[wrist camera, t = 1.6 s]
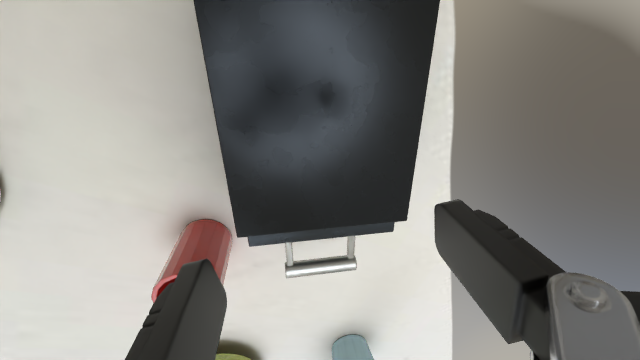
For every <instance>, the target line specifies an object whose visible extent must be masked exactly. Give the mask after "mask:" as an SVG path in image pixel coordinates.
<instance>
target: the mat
mask: <svg viewBox="0 0 640 360" xmlns="http://www.w3.org/2000/svg"><path fill="white" fill-rule="evenodd" d="M215 360H252V359H250V358H247V357H245V356H241V355H236V354H223V353H220V354H216V358H215Z"/></svg>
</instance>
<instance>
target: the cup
mask: <svg viewBox="0 0 640 360" xmlns="http://www.w3.org/2000/svg"><path fill="white" fill-rule="evenodd" d="M332 358H333V360H374V359H373V356H372V354H371V352H370V349H369V347H368V345H367V342H366V340H365V339H364V338H363V337H362V336H359V335H347V336H344V337H342V338H340V339H338V340H337V341H336V342H335V343H334V344H333V347H332Z"/></svg>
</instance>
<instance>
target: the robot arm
mask: <svg viewBox="0 0 640 360" xmlns="http://www.w3.org/2000/svg"><path fill="white" fill-rule="evenodd" d="M434 213H435V243H436V247H437V250H438V252H439V254H440V256H441V257H442V258H443V260H444V261H445V262H446V264H447V265H448V266H449V268H450V269H451V270H452V271H453V273H454V274H455V275H456V277H457V278H458V279H459V280H460V282H461V283H462V284H463V286H464V287H465V288H466V290H467V291H468V292H469V293H470V295H471V296H472V298H473V299H474V300H475V301H476V302H477V304H478V305H479V307H480V308H481V309H482V310H483V312H484V313H485V315H486V316H487V317H488V318H489V320H490V321H491V322H492V323H493V325H494V326H495V328H496V329H497V330H498V331H499V333H500V334H501V335H502V337H503V338H504V339H505V341H506V342H507V343H508V344H511V343H515V342H519V341H523V340H524V341H525V343H526V344H527V345H528V346H529V347H530V349H531V352H530V360H640V292H630V291H618V290H617V289H616V288H615V287H613V286H611V285H610V284H608V283H606V282H604V281H602V280H600V279H597V278H595V277H591V276H588V275H584V274H579V273H567V272H565V271H564V270H563V269H561V268H560V267H559V266H558V265H556V264H555V263H553V262H552V261H551V260H550V259H548V258H547V257H546V256H545V255H543V254H542V253H541V252H539V251H538V250H537V249H536V248H535V247H533V246H532V245H531V244H529V243H528V242H527V241H526V240H524V239H523V238H520V237H519V235H518V234H516V233H515V232H514V231H513V230H511V229H508V226H506V225H505V224H504V223H503V222H501V221H500V220H499V219H498V218H496V217H495V216H492V215H490V214H488V213H485V212H483V211H481V210H476V211H473V210H472V209H471V208H470V207H468V206H467V205H466V204H465V203H464V202H463V201H461V200H459V199H457V200H453V201H448V202H444V203H440V204H437V205H436V206H435V210H434ZM226 308H227V298H226V292H225V290H224V287H223V285H222V283H221V281H220V279H219V277H218V275H217V273H216V271H215V269H214V267H213V265H212V263H211V262H210V260H208V259H203V260H199V261H195V262H190V263H186V264H184V265H182V267H181V269H180V271H179V273H178V275H177V277H176V279H175V281H174V282H172V283H169V284H168V285H167V287H166V288H165V289H164V290H163V291H162V292H161V293H160V294H159V296H158V297H157V298H156V300H155V302H154V304H153V306H152V308H151V310H150V312H149V315H148V316H147V318H146V319H145V321H144V323H143V325H142V326H143V328H142V329H140V331H139V333H138V335H137V337H136V339H135V341H134V343H133V345H132V347H131V349H130V351H129V353H128V355H127V357H126V358H125V360H215V358H216V353H217V349H218V344H219V340H220V335H221V331H222V326H223V321H224V317H225V312H226Z"/></svg>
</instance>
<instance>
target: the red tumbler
mask: <svg viewBox="0 0 640 360" xmlns="http://www.w3.org/2000/svg"><path fill="white" fill-rule="evenodd" d="M231 246H232V235H231V233H230V231H229V230H228V229H227V227H225V226H224V225H223V224H221V223H219V222H217V221H214V220H209V219H202V220H197V221H194V222H192V223H190V224H188V225H187V226H186V227H185V228H184V229H183V231H182V233H181V234H180V236H179V238H178V240H177V242H176V244H175V246H174V248H173V250H172V252H171V254H170V256H169V258H168V260H167V262H166V264H165V266H164V268H163V270H162V272H161V274H160V276H159V278H158V280H157V282H156V284H155V286H154V288H153V291H152V296H151V297H152V300H153V303H154V302H155V300H156V298H157V297H158V296H159V294H160V293H161V292H162V291H163V290H164V289H165V288H166V287H167V285H168V284H169V283H172V282H174V281H175V279H176V277H177V275H178V273H179V271H180V269H181V267H182V265H184V264H186V263H190V262H195V261H199V260H203V259H208V260H210V262H211V263H212V265H213V267H214V269H215V271H216V273H217V275H218V277H219V279H220V281H221V283H222V285H223V283H224V278H225V274H226V269H227V265H228V260H229V256H230V251H231Z"/></svg>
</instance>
